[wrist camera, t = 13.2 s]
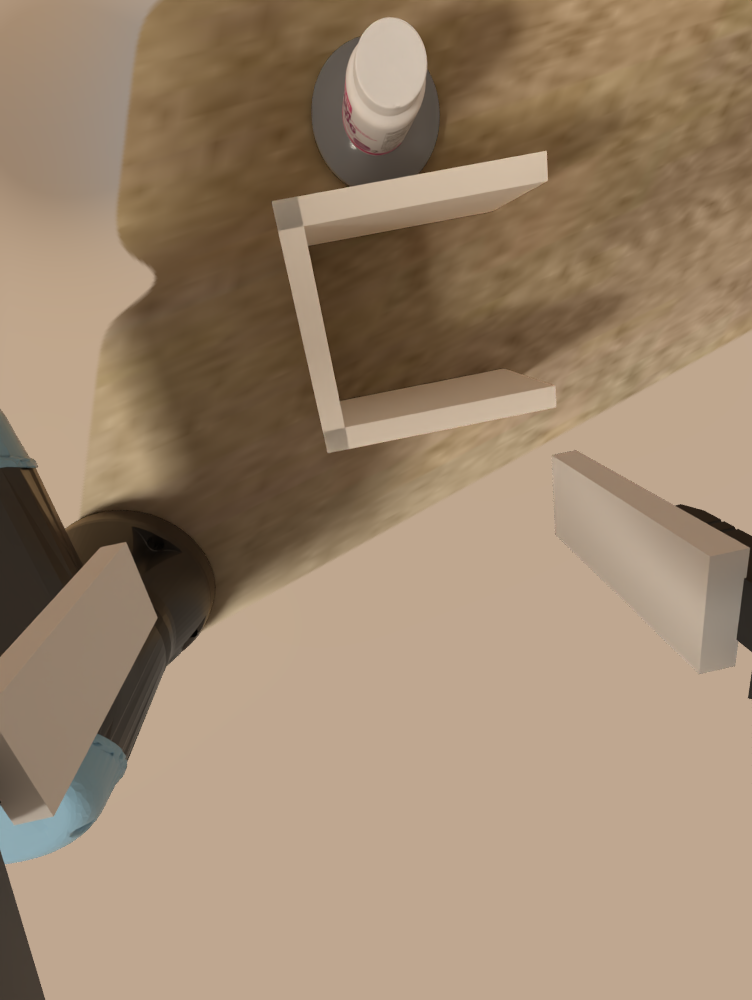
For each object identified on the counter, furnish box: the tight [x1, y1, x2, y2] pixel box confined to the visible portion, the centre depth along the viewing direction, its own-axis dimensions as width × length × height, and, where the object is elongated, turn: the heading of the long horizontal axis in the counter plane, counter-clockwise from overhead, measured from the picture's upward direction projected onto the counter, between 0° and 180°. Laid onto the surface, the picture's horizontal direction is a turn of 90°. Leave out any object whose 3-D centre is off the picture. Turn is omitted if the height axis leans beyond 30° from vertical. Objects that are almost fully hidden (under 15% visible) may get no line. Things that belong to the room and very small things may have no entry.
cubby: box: [271, 151, 556, 453], centre depth 35 cm, size 16×15×10 cm
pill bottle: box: [342, 17, 427, 156], centre depth 31 cm, size 5×5×8 cm
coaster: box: [312, 37, 440, 187], centre depth 35 cm, size 9×9×1 cm
